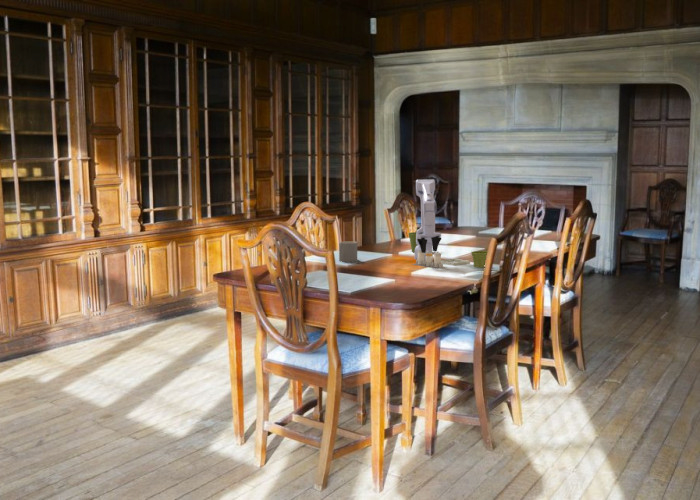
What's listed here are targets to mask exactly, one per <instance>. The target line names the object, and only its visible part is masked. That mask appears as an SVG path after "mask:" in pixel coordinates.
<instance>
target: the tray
mask: <svg viewBox="0 0 700 500" xmlns="http://www.w3.org/2000/svg"><path fill="white" fill-rule="evenodd" d="M441 264H443V265H448V266H458V265H460V266H461V265H465V264H469V265H470V264H471V260H467V259H466V260H465V259H461V258H460V259H459V258H454V257H453V258H447V259H446V258H445V259H441Z"/></svg>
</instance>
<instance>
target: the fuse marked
mask: <svg viewBox="0 0 700 500" xmlns="http://www.w3.org/2000/svg"><path fill="white" fill-rule="evenodd" d="M433 252H434V251H432V252H426V266H430V263H431V262H434V253H433Z"/></svg>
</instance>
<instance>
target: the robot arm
mask: <svg viewBox="0 0 700 500" xmlns="http://www.w3.org/2000/svg"><path fill="white" fill-rule="evenodd" d="M435 191H436V180H435V179H416V180H415V194H416V196H418V197H419V199H420V212H421V213H420V223H421V224H420V225H421V226H420V227H419V228H418V229H417V230H416V231H415V232H416V244H417V245H418V246H416V248H415V252H414V260H418V251H419V250H421V251H422V253H425V261H426V252H434V253H437V252H438V248H439V245H440V242H441V240H442V232H436V212H437V201H436V200H435V199H434V194H435ZM420 233H424V234H420Z"/></svg>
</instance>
